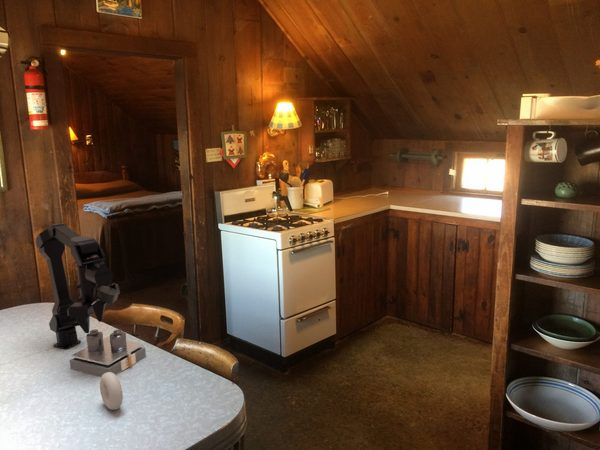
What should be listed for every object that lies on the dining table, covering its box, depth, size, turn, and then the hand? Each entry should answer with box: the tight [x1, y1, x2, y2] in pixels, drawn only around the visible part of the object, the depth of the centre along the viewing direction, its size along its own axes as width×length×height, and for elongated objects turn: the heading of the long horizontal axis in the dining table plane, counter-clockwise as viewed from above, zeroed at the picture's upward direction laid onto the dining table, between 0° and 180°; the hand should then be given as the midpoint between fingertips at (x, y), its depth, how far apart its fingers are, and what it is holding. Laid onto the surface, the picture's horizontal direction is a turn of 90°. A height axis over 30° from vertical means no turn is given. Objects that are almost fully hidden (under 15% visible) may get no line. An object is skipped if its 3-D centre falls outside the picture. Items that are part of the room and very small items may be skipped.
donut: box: [99, 372, 124, 411], centre depth 139 cm, size 10×4×10 cm, turn 41°
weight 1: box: [85, 329, 104, 353], centre depth 165 cm, size 5×5×6 cm
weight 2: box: [109, 328, 127, 353], centre depth 164 cm, size 5×5×6 cm
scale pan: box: [71, 336, 144, 368], centre depth 165 cm, size 17×15×4 cm
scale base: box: [69, 346, 147, 378], centre depth 166 cm, size 16×16×3 cm
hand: (93, 327), depth 164 cm, fingers open, 9 cm apart
